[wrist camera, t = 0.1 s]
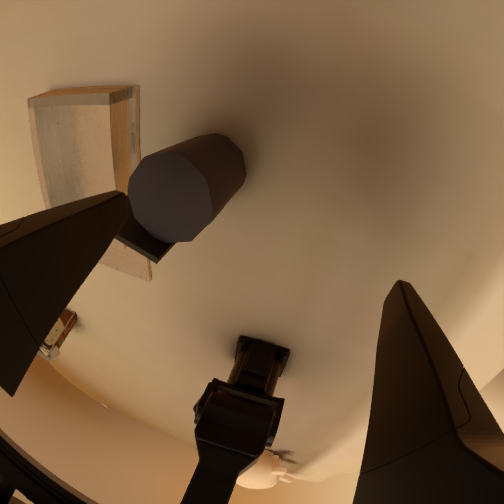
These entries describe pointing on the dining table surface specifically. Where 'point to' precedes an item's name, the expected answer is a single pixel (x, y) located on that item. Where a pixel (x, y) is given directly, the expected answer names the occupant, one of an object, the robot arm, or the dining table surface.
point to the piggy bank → (264, 473)
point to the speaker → (179, 193)
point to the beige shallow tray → (88, 152)
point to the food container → (58, 335)
